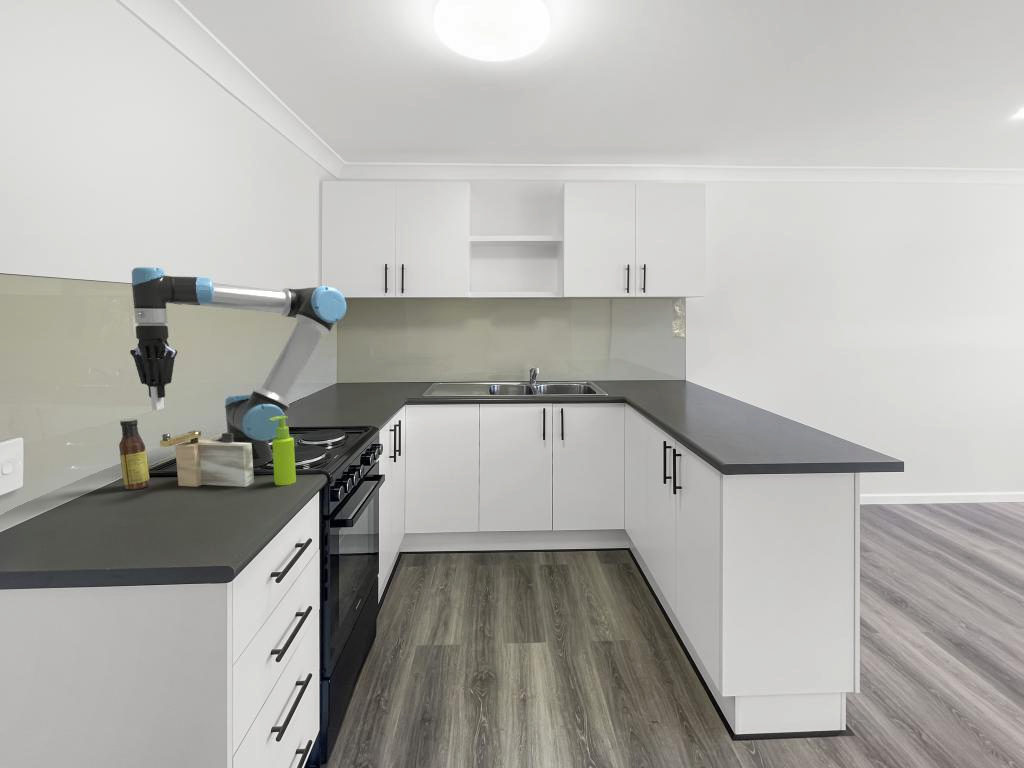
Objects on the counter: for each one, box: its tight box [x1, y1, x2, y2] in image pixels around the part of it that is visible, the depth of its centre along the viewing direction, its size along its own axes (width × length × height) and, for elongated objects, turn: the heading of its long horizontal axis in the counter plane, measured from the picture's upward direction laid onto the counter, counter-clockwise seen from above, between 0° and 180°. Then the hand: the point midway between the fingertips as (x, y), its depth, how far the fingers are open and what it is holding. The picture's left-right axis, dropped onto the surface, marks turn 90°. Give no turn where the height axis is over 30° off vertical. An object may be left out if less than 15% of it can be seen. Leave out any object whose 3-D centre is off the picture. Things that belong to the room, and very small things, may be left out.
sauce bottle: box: [118, 418, 150, 491], centre depth 160 cm, size 7×6×20 cm
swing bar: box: [159, 430, 202, 448], centre depth 160 cm, size 13×3×3 cm, turn 171°
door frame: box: [174, 432, 255, 488], centre depth 164 cm, size 8×20×15 cm, turn 81°
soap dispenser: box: [269, 415, 297, 486], centre depth 164 cm, size 6×7×20 cm
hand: (158, 409), depth 157 cm, fingers closed
